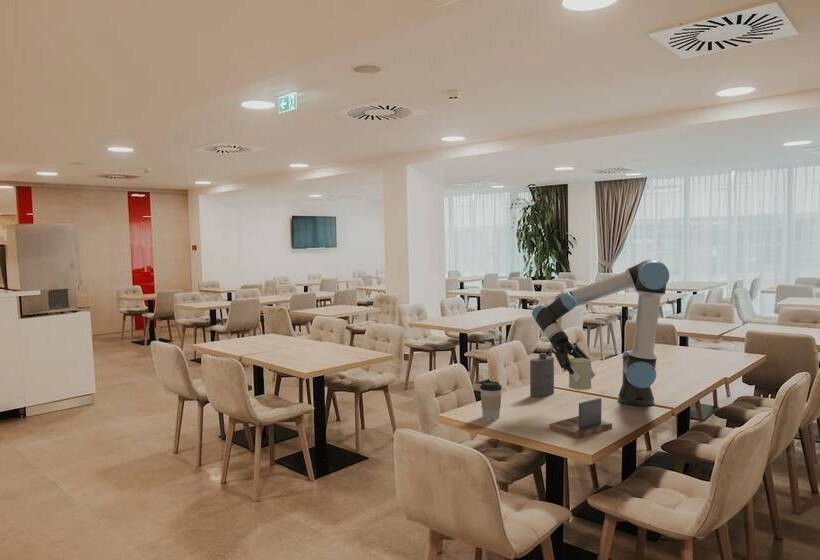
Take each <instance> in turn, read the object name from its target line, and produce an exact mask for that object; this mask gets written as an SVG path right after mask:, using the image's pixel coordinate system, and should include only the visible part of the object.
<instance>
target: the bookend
mask: <svg viewBox="0 0 820 560" xmlns="http://www.w3.org/2000/svg"><path fill="white" fill-rule="evenodd" d="M578 416H579V429H580V430H583V431H588V430H591V429H594V428H598V427H601V426H604V425H606V424H604V423H601V420H602V398H601V397H598V398H595V399H594V398H593V399H591V400H587V401H582V402H579V403H578Z"/></svg>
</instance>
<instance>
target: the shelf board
mask: <svg viewBox="0 0 820 560" xmlns="http://www.w3.org/2000/svg"><path fill="white" fill-rule="evenodd" d="M601 423H604V424H606V425H604V426H601V427H598V428H594V429H591V430H588V431H583V430H580V429H579V415H578V416H573V417H570V418H566V419H563V420H559V421H556V422H552V423H549V430H552V431H554V432H557V433H560V434H562V435H567V436H569V437H572V438H575V439H581V438H585V437H588V436H591V435H594V433H595V434H598V433H600V432H605V431H609V430H611V429H613V422H611V421H606V420H603V419H601ZM610 428H611V429H610ZM604 430H605V431H604ZM597 432H598V433H597Z"/></svg>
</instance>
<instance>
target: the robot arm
mask: <svg viewBox="0 0 820 560" xmlns="http://www.w3.org/2000/svg"><path fill="white" fill-rule="evenodd" d="M669 280H670V271H669V269H668V267H667V266H666V265H665V263H663V262H661V261H659V260H655V259H653V260H652V259H646V260H644V261H641V262H639V263H638V264H636V265H634V266H631V267H628V268H626V270H625V271H624V272H621V273H619V274H618V273H617V274H615V275H612V276H610V277H607V278H604V279H601V280H598V281H595V282H593V283H590V284H587V285H585V286H581V287H578V288H575V289H573V290H571V291H566V292H565V293H560V294H558V295H556V296H555V298H554V300H553V301H552V302H551V303H550V304H548V305H545V304H539V305H538V306H537V305H536V306H535V308H533V310H532V312H531V316H532V317H533V319H534V320H535V322H536V324H537V325H538V327H539V328H540V330H541V331H542V333H544V334H545V335H544V336H546V338H547V340H549V343H550V344H551V345H552V349H551V352H552V353H553V354H554V356H555V358H556V360H557V362H558V364H559V366H560V368H561V369H563V370H564V371H567V372H568V374H569V373H570V374H571V375H572V377H573V378H574V380H575V381H576V382H578V381H579V380H580V379H581V377H580V376H579V374H578V373H577V372H576V370H575V369H574V367H573V366H572V365H571V366H570V362H569V359H570V358H569V356H572V357H573V358H586V359H590V357H589V356H588V355H587V354H586V353H585V352H584V351H583V350H582V349H581V348H580V347H579V345H578V344H577V342H573V343H571V342H570V341H569V336H568V335H567V333H566V332H565V331H564V329H563V328H562V326H561V325H560V324H559V322H558V321H557V320H560V319H561V318H562V317H563V316H565V315H566V314H567V313H569V312H570V311H572V310H573V309H574V308H576V307H578V306H581V305H584V304H587V303H590V302H593V301H596V300H599V299H601V298H605V297H608V296H611V295H613V294H616V293H619V292H623V291H625V290H628V289H634V290H635V291H636V293H637V294H638V300H637V309H636V316H635V323H634V324H635V325H634V332H633V341H632V349H631V350H626V351H623V353H622V357H621V358H622V384H621V387H620V390H619V392H618V393H619V394H618V402H620V404H621V403H622V404H625V405H629V406H635V407H637V406H638V407H643V406H651V405H654V404H655V397H654V394H653V391H652V387H651V386H652V385H653V384H654V383H655V381H656V380H657V370H656V368H657V367H656V366H657V365H656V364H657V359H658V357H657V356H656V354H655V353H654V351H655V345H656V338H657V337H656V335H657V330H658V329H657V328H658V322H659V321H658V320H659V313H660V306H661V298H662V297H663V296H664V295H666V290H667V285H668V282H669ZM596 375H597V374H596V372H595V371H594V370H593V367H592V366H591V380H592V379H593V378H595V376H596ZM653 403H654V404H653Z"/></svg>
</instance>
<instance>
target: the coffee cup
mask: <svg viewBox="0 0 820 560" xmlns="http://www.w3.org/2000/svg"><path fill="white" fill-rule="evenodd" d="M479 389H480V404H481V409H482V418H483V419H484V420H487V419H496V420H499V419H500V415H501V414H500V412H501V404H502V403H501V402H502V389H503V387H502V384H500V383H499V382H498V381H493V380H485V381H484V382H482V384H481V385H480V386H479ZM498 418H499V419H498Z"/></svg>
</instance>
